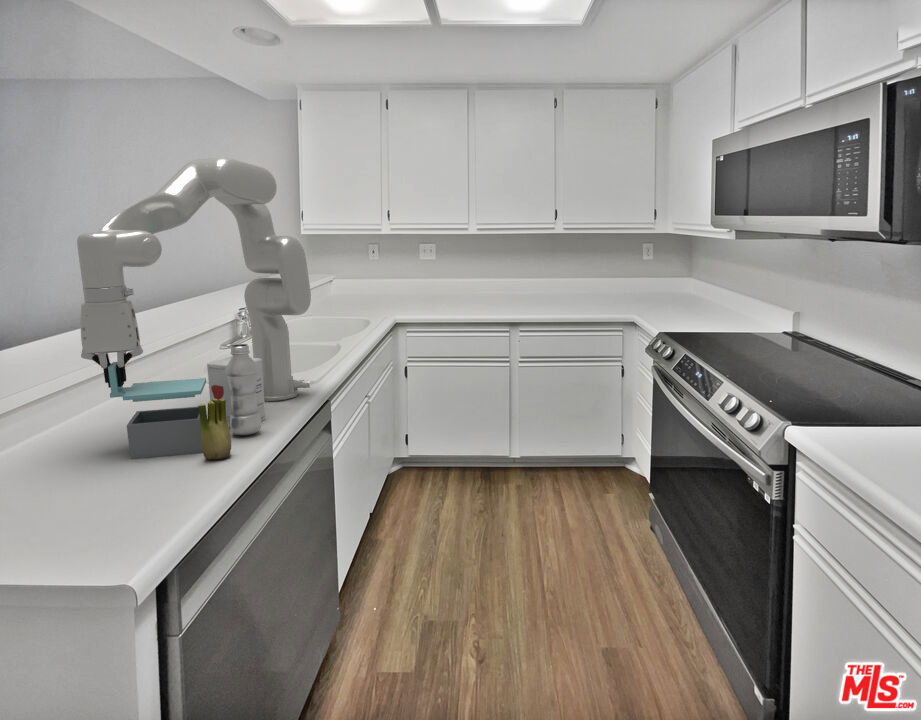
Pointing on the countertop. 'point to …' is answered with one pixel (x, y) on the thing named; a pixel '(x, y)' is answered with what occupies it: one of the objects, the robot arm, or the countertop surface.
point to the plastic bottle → (243, 391)
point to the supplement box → (221, 385)
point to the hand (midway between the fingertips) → (116, 385)
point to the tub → (164, 432)
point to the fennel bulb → (215, 430)
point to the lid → (155, 388)
